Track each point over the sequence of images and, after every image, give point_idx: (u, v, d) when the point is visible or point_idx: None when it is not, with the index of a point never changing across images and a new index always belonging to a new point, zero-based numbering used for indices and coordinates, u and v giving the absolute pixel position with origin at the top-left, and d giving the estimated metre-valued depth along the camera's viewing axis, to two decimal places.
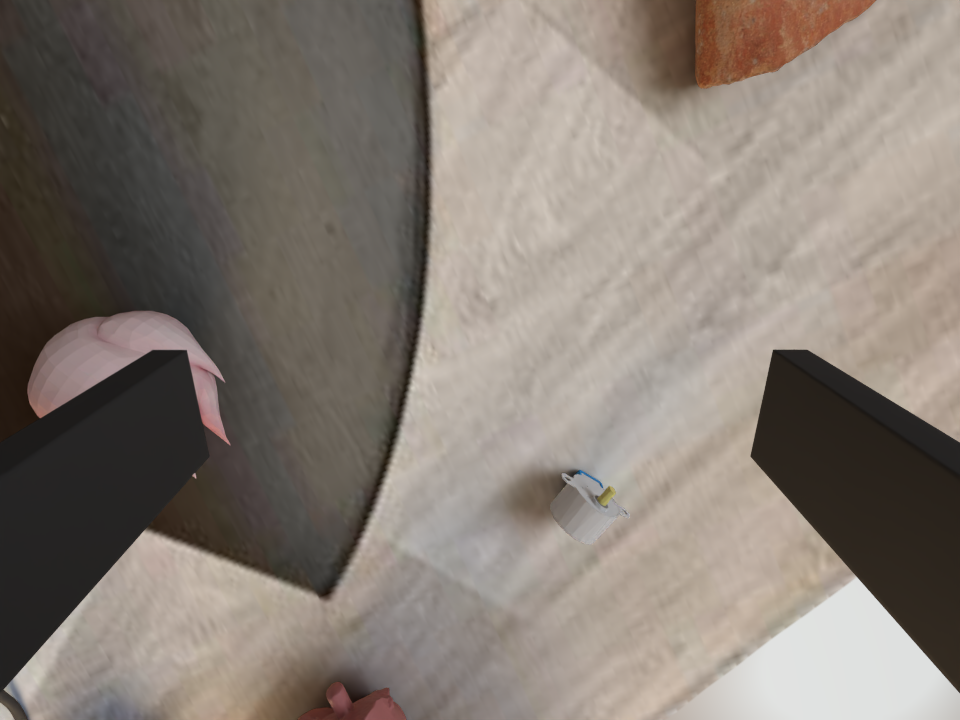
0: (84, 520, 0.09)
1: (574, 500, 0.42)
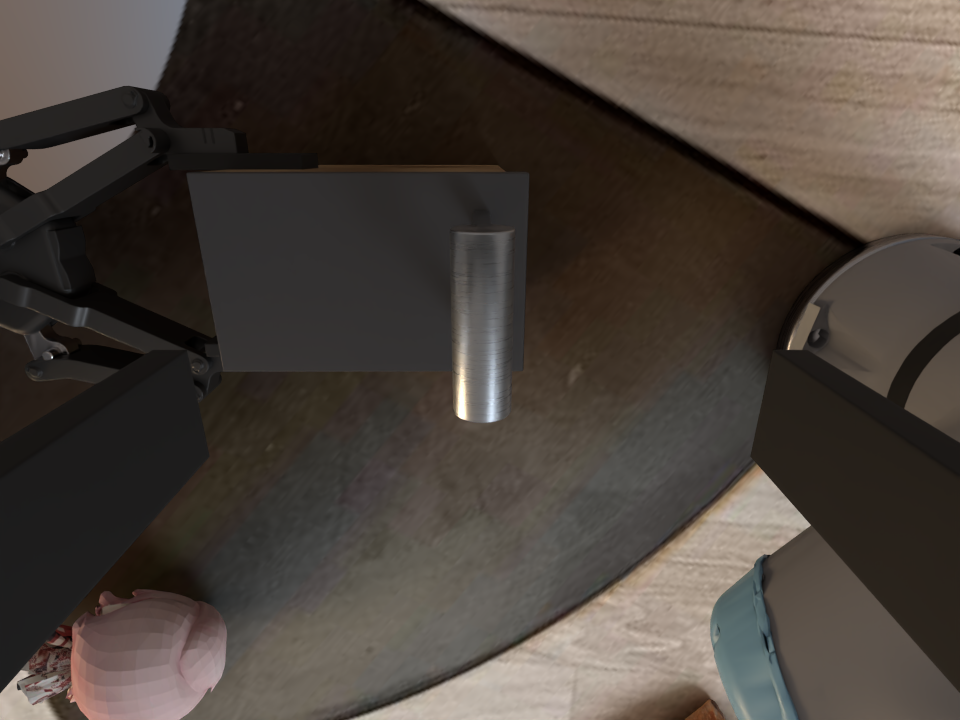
0: (85, 520, 0.09)
1: None
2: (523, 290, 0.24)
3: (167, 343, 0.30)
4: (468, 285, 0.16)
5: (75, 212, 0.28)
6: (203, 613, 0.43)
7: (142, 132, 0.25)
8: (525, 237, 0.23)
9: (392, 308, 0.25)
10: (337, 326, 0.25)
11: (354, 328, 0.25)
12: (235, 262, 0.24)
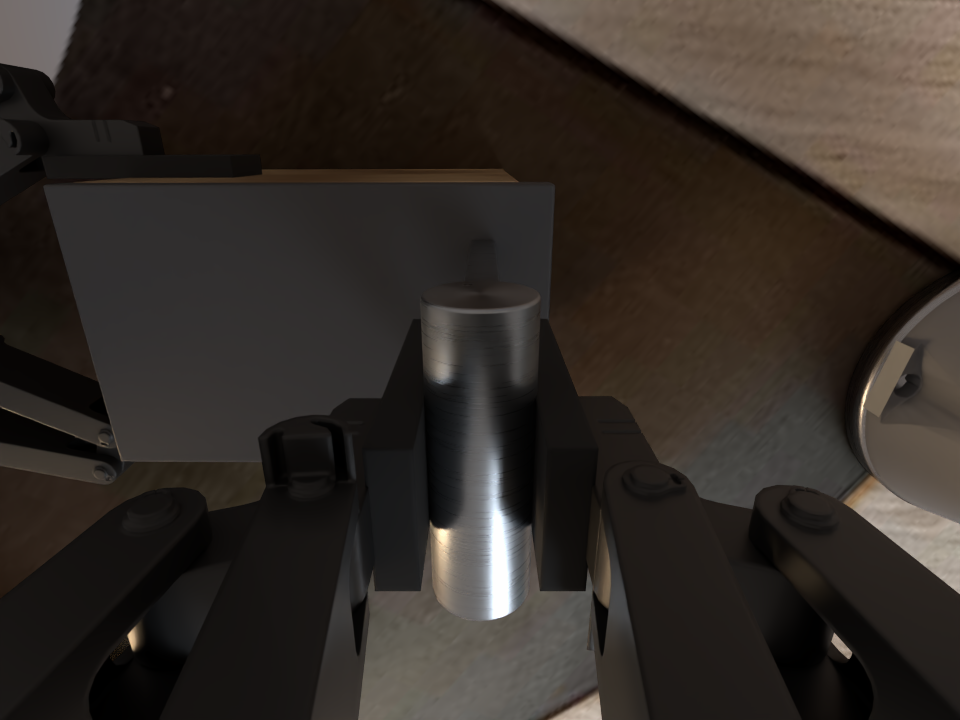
0: None
1: None
2: None
3: (64, 409, 0.22)
4: (454, 402, 0.09)
5: None
6: None
7: (0, 126, 0.18)
8: (548, 279, 0.16)
9: (355, 378, 0.17)
10: (277, 402, 0.17)
11: (301, 405, 0.17)
12: (126, 314, 0.16)
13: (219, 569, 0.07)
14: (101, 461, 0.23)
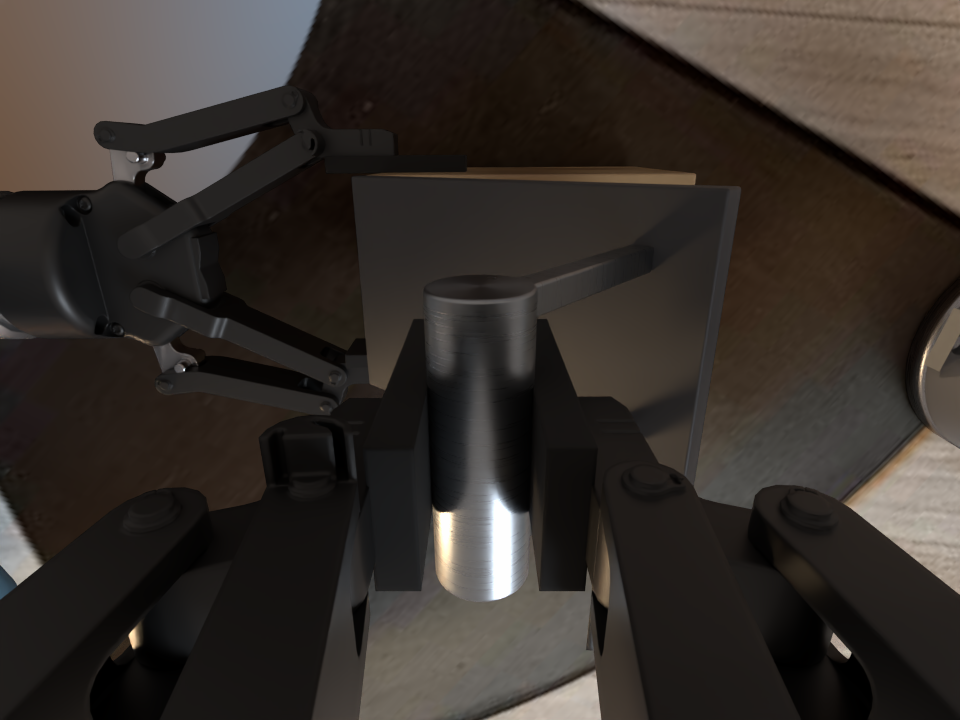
0: None
1: None
2: (696, 383, 0.15)
3: (306, 354, 0.28)
4: (430, 378, 0.10)
5: (216, 218, 0.27)
6: None
7: (304, 134, 0.24)
8: (709, 298, 0.14)
9: None
10: None
11: None
12: (381, 275, 0.22)
13: (220, 568, 0.07)
14: (327, 397, 0.29)
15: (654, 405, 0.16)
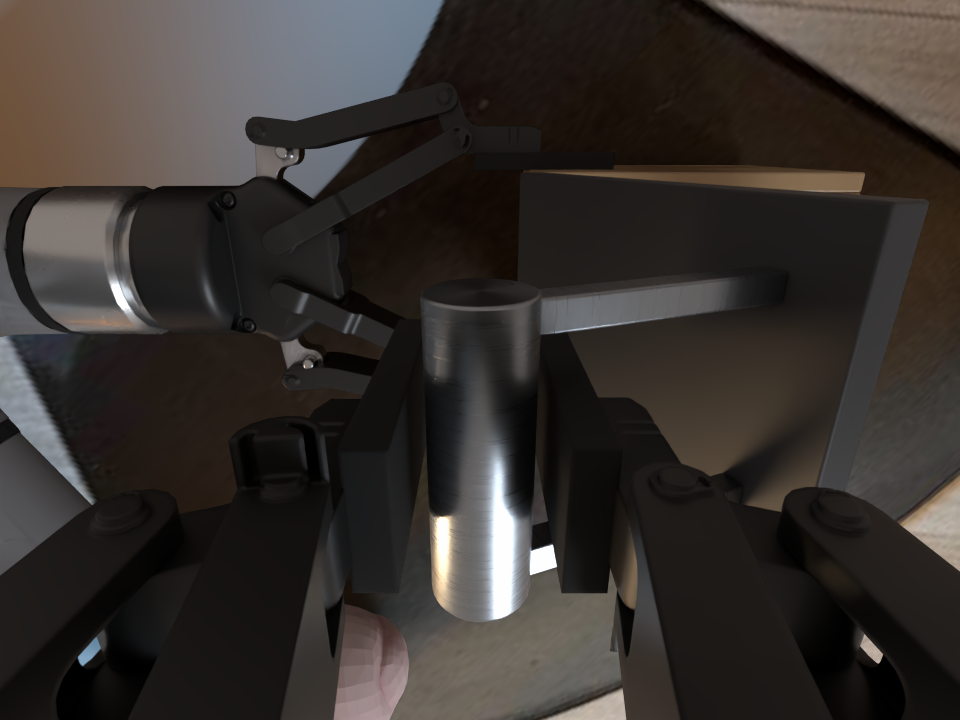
0: (413, 448, 0.11)
1: None
2: (821, 454, 0.11)
3: None
4: None
5: (353, 214, 0.27)
6: (386, 627, 0.42)
7: (460, 131, 0.24)
8: (850, 347, 0.10)
9: (634, 383, 0.17)
10: None
11: (598, 389, 0.19)
12: (533, 272, 0.22)
13: (188, 571, 0.07)
14: None
15: (768, 469, 0.12)
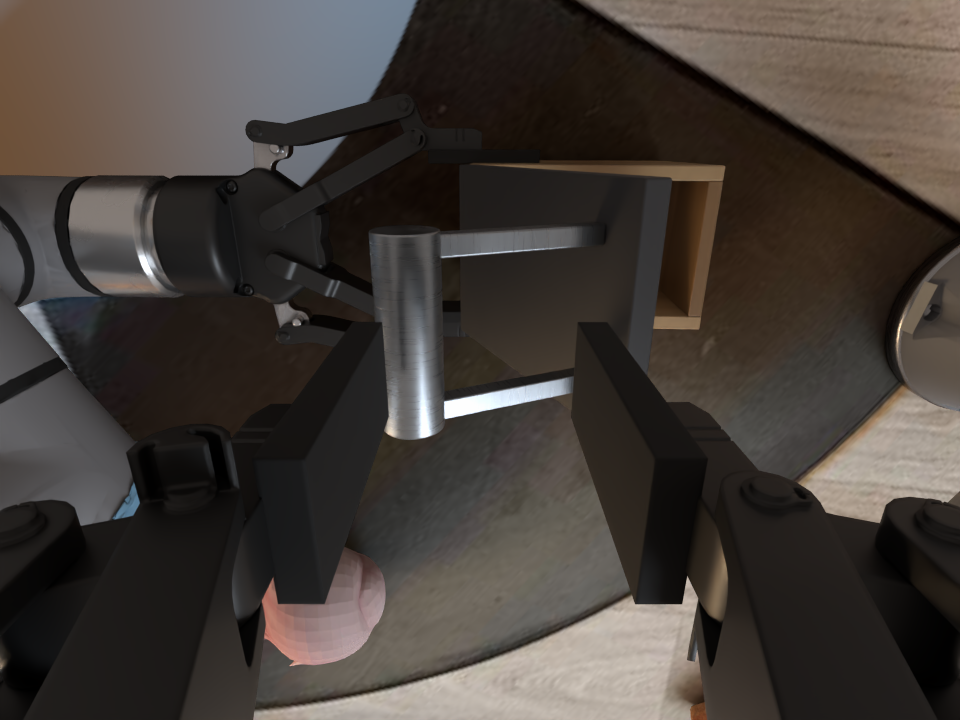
0: (354, 454, 0.11)
1: None
2: (626, 339, 0.18)
3: None
4: None
5: (332, 199, 0.33)
6: (366, 561, 0.48)
7: (415, 132, 0.30)
8: (634, 268, 0.17)
9: (534, 315, 0.23)
10: (505, 318, 0.26)
11: (513, 325, 0.25)
12: None
13: (82, 585, 0.06)
14: None
15: None
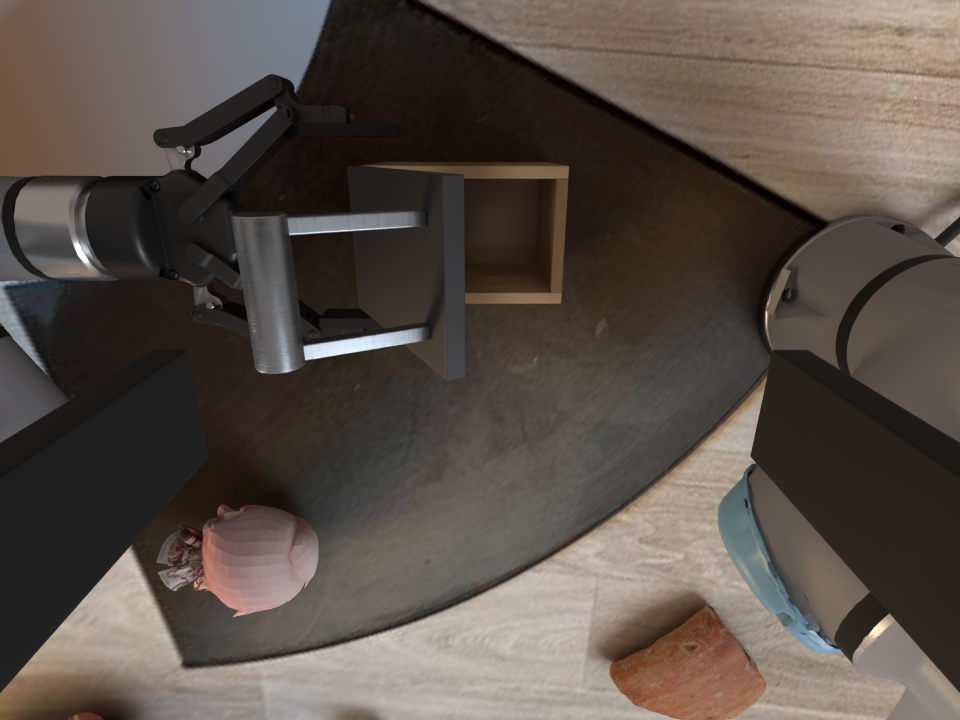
0: (84, 520, 0.09)
1: None
2: (443, 296, 0.23)
3: None
4: None
5: (237, 185, 0.39)
6: (300, 522, 0.54)
7: (282, 107, 0.35)
8: (442, 242, 0.23)
9: (397, 286, 0.29)
10: (382, 292, 0.31)
11: (387, 296, 0.31)
12: (358, 230, 0.34)
13: None
14: None
15: (434, 312, 0.25)
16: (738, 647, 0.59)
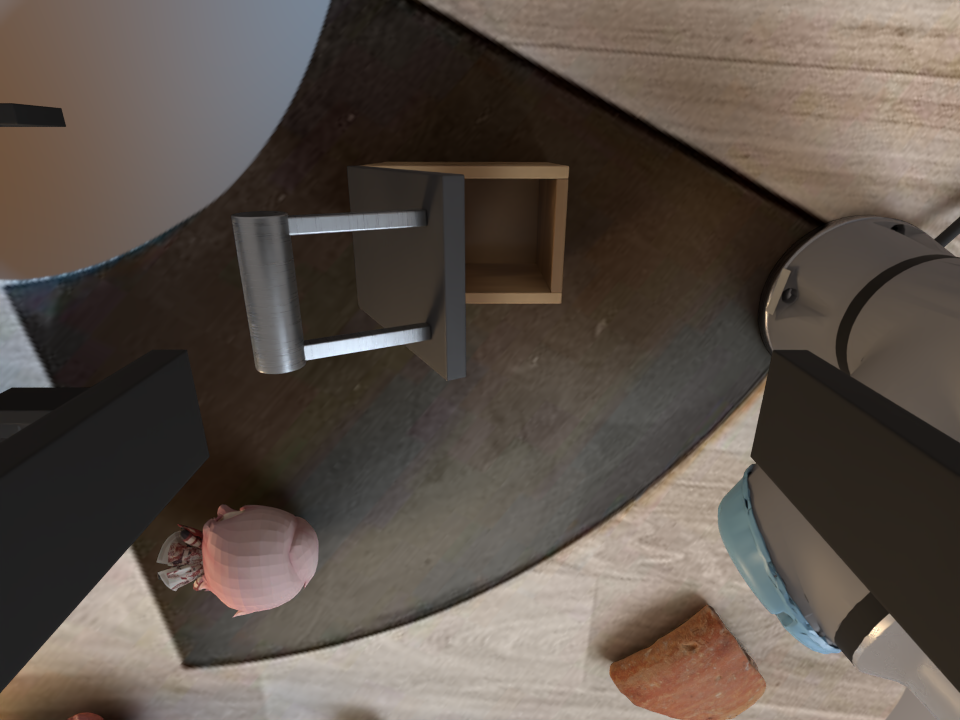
0: (84, 520, 0.09)
1: None
2: (444, 296, 0.23)
3: None
4: None
5: None
6: (300, 522, 0.54)
7: None
8: (442, 242, 0.23)
9: (397, 286, 0.29)
10: (382, 292, 0.31)
11: (387, 296, 0.31)
12: (358, 230, 0.34)
13: None
14: None
15: (434, 312, 0.25)
16: (738, 647, 0.59)
